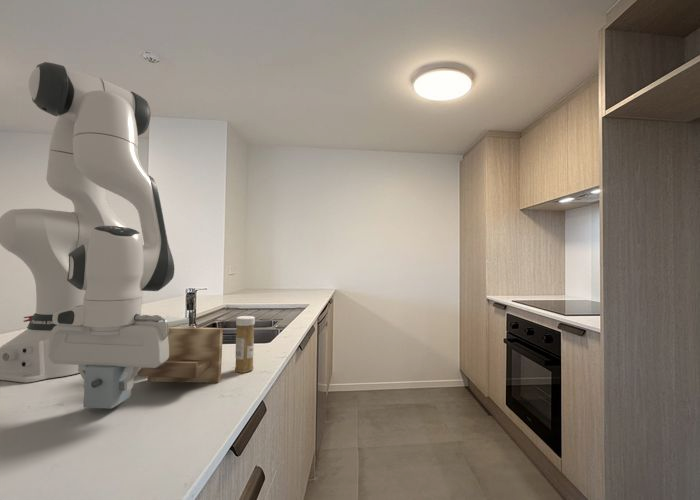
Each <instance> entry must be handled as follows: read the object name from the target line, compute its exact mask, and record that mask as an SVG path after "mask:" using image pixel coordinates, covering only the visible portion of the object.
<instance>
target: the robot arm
mask: <svg viewBox="0 0 700 500" xmlns="http://www.w3.org/2000/svg"><path fill="white" fill-rule="evenodd" d="M28 89H29V90H28V91H29V93H30V96H31V100H32V102H33V103H34V104H35V106H36V107H37V108H39V109H40V110H41V111H43V112H45V113H47V114H50V115H52V116H54V117H57V119H56V121H55V124H54V128H53V129H52V134H51V139H50V142H49V143H50V144H49V149H48V159H47V169H46V175H45V176H46V179H45V180H46V182H47V184H48V186H49V187H50V188H51V190H53V191H54V192H56V193H57V194H58V195H61V196H63V197H64V198H65V199H68V200H69V201H71V202H72V204H73V208H74V209H73V211H65V210H64V211H62V210H55V209H54V210H53V209H45V208H17V209H15V208H14V209H9V210H8V211H6V212H4V213H3V214H2V215H1V216H0V246H1V247H2V248H4V249H5V250H6V251H7V252H9V253H11V254H13V255H14V256H15V257H17V258H18V259H20V260H21V261H22V262H23V263H24V264H25V265H26V266H27V267H28V268H29V270H30V272H31V274H32V276H33V278H34V283H35V293H36V294H35V296H36V306H35V313H34V314H33V315H28V316H24V317H23V319H24V320H23V321H22V322H24V323H26V322H28V324H27V326H26V328H27V329H25V330H24V331H23V332H21V333H19V334H18V335H17V336H15V337H14V338H12V339H10V340H9V341H8V342H6V343H4V344H2V346H0V380H1V381H9V382H19V383H32V382H33V383H34V382H38V381H42V380H47V379H53V378H60V377H61V378H62V377H66V376H71V375H72V376H73V375H75V374H80V376H81V378H82V380H83V387H84V386H85V369H86V367H88V366H90V365H95V366H119V367H126V372H127V373H128V372H129V373H128V375H127V377H126V378H125V379H124V380H121V381H119V386H120V387H119V390H121V391H128V390H130V389H131V390H132V389H133V388H134V379H135V378H136V376H137V373H138V372H139V370H140V369H141V367H142V368H156V367H158V366H160V365H162V364H164V363H165V362H166V361H167V360H168V358H169V342H168V330H169V324H168V322H167V321H166V320H165V319H164V318H162V317H163V316H161V315H158V314H157V315H156V314H155V315H150V314H149V315H148V314H142V307H143V306H142V305H143V303H142V302H143V293H142V292H144V291H146V292H158V291H160V290H162V289H163V288H165V287H166V286H167V285H168V284H169V283H170V282H171V281H172V280H173V278H174V277H175V262H174V261H175V260H174V258H173V254H172V251H171V248H170V245H169V241H168V236H167V230H166V225H165V220H164V219H165V218H164V215H163V207H162V203H161V199H160V195H159V189H158V186H157V184H156V181H155V179H154V178H153V177H152V176H151V175H149V174H148V173H147V172H146V170H145V168H144V167H143V165H142V163H141V160H140V157H139V139H138V138H139V136H141V135H142V134H145V133H146V131H147V130H148V128H149V125H150V123H151V107H150V105H149V103H148V101H147V99H146V98H144V97H142V96H141V95H139V94H137V93H135V92H133V91H130V90H127V89H126V88H123V87H121V86H119V85H117V84H114V83H112V82H110V81H108V80H105V79H103V78H100V77H99V78H98V77H95V76H93V75H90V74H87V73H83V72H81V71H77V70H73V69H70V68H67V67H65V66H64V65H61V64H58V63H54V62H47V61H44V62H42V63H39V64H37V65H36V67H35V69H33V71H32V72H31V73H30V76H29V78H28ZM106 190H107V191H109V192H111V193H113V194H115V195H117V196H119V197H122V198H123V199H125V200H126V201H127V202H128V203H130V204H132V205H133V206H134V207H135V210H137V213H138V219H139V223H140V227H141V228H140V229H141V232H140V231H138V230H136V229H133V228H130V227H128V226H127V224H126V223H125V222H124V221H123V220H122V219H121V218H120V217H118V216H117V214H116V213H115V212H114V211H113V210H112V208H111V206H110V204H109V202H108V199H107V193H106ZM161 320H162V321H161Z"/></svg>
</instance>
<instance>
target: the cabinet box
mask: <svg viewBox="0 0 700 500" xmlns="http://www.w3.org/2000/svg"><path fill="white" fill-rule="evenodd" d="M128 373H129V372H128ZM128 373H127V372H126V367H119V366H95V365H90V366H88V367H86V369H85V386H84V385H83V390H84V391H83V406H82V407H83V408H89V409H90V408H91V409H113V408H115V407H116V406H118V405H119V404H121V403H123V402H124V401H126V400H128V399H129V398H130V397H131V395H132V389H130V390H128V391H121V390H119V387H120V386H119V381H121V380H124V379H125V378H126V377H127V375H128Z"/></svg>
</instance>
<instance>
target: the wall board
mask: <svg viewBox="0 0 700 500" xmlns="http://www.w3.org/2000/svg"><path fill="white" fill-rule="evenodd" d="M223 329H224V328H223V327H196V326H195V327H192V326H191V327H190V326H189V327H169V330H168V342H169V358H168V360H167V361H166V362H165V363H164V364H162V365H160V366H158V367H156V368H142V367H141V369H140V370H139V372H138V373H137V375H136V376H137V377H141V378H143V377H144V378H147V382H163V383H164V382H167V383H168V382H169V383H170V382H171V383H214V384H215V383H220V382H221V381H222V360H223V359H222V358H223V357H222V356H223V336H224V335H223V331H224V330H223ZM137 377H136V378H137Z"/></svg>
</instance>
